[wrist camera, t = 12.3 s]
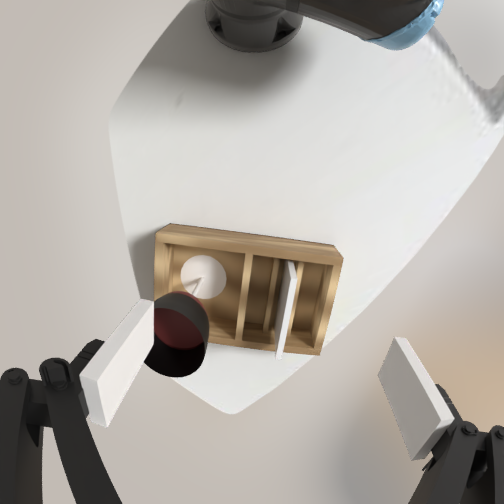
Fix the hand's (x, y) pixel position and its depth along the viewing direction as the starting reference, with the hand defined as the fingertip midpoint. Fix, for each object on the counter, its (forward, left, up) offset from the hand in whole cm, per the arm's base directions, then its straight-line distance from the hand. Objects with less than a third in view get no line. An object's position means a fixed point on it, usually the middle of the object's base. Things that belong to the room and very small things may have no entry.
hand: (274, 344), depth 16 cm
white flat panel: (+10, +3, -34) cm, 35 cm away
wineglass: (+10, -9, -33) cm, 35 cm away
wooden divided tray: (+10, -3, -34) cm, 35 cm away
